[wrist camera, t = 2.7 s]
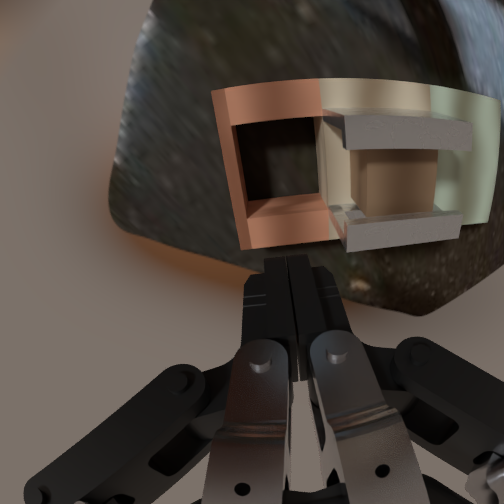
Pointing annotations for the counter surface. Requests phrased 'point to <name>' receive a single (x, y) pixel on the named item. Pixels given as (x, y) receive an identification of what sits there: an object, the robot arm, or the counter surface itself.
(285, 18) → the counter surface
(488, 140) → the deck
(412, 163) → the walnut block
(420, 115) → the tunnel
